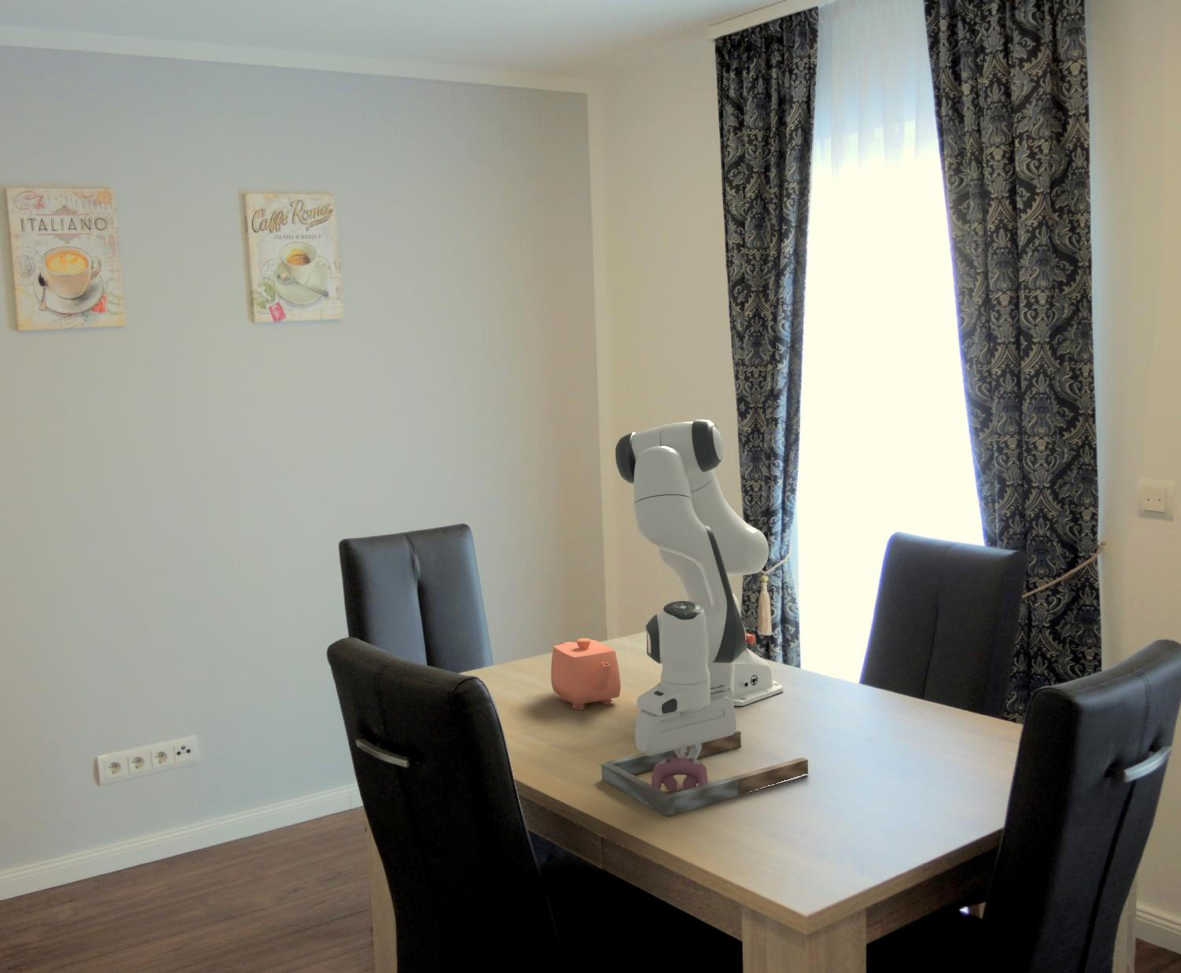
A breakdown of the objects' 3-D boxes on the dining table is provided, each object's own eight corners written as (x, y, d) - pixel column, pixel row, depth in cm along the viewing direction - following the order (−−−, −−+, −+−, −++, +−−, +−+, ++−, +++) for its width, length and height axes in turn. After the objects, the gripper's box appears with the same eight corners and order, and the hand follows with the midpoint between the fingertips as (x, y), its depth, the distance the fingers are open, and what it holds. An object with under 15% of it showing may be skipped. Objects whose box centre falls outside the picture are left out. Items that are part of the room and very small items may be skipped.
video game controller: (708, 798, 204) (707, 758, 206) (707, 796, 200) (707, 755, 202) (652, 798, 205) (652, 758, 207) (650, 796, 201) (650, 755, 203)
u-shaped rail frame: (736, 744, 227) (735, 729, 226) (808, 775, 209) (807, 759, 208) (601, 779, 211) (601, 763, 211) (667, 816, 193) (666, 799, 193)
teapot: (634, 709, 251) (632, 646, 250) (581, 719, 246) (578, 655, 244) (592, 684, 271) (589, 626, 269) (542, 693, 266) (539, 633, 264)
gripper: (721, 679, 214) (723, 751, 215) (629, 700, 203) (632, 775, 205) (742, 686, 209) (744, 760, 210) (649, 708, 198) (652, 786, 200)
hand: (688, 768), depth 207 cm, fingers closed
